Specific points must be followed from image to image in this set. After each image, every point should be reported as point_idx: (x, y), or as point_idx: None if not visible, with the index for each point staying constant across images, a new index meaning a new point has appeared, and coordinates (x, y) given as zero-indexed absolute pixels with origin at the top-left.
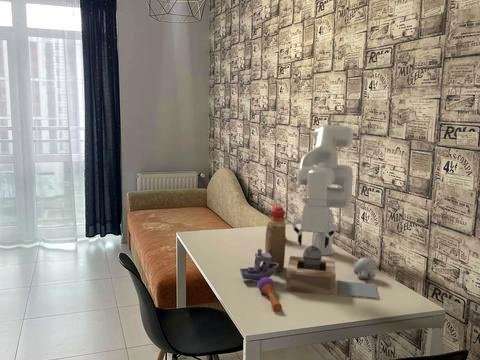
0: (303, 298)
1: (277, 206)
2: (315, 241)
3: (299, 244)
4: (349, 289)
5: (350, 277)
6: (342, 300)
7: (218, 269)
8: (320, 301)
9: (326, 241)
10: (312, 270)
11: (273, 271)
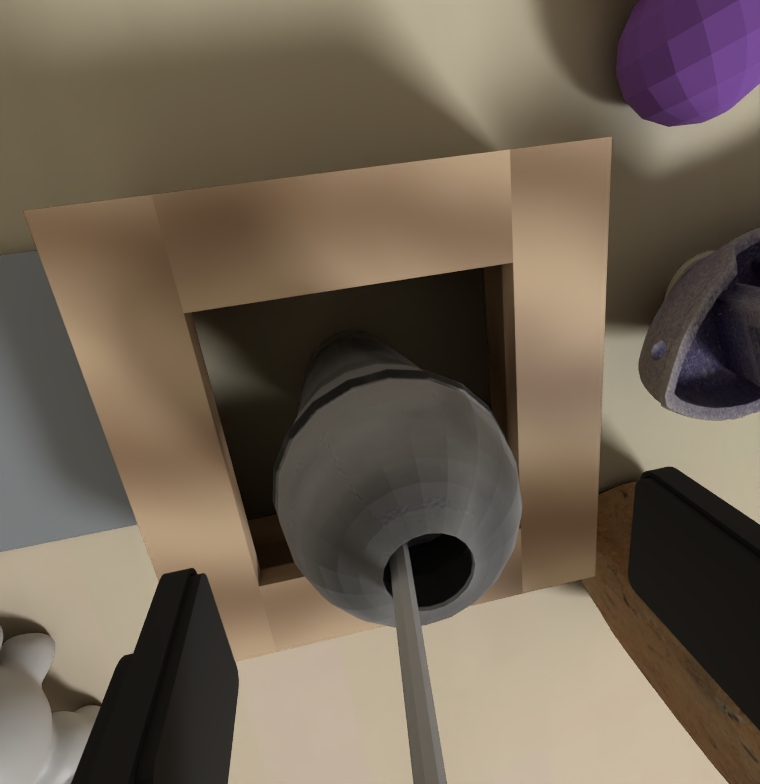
0: (349, 44)
1: None
2: (416, 662)
3: (676, 471)
4: (27, 381)
5: (112, 628)
6: (17, 135)
7: None
8: (195, 26)
9: (132, 689)
10: (337, 267)
11: (669, 313)
